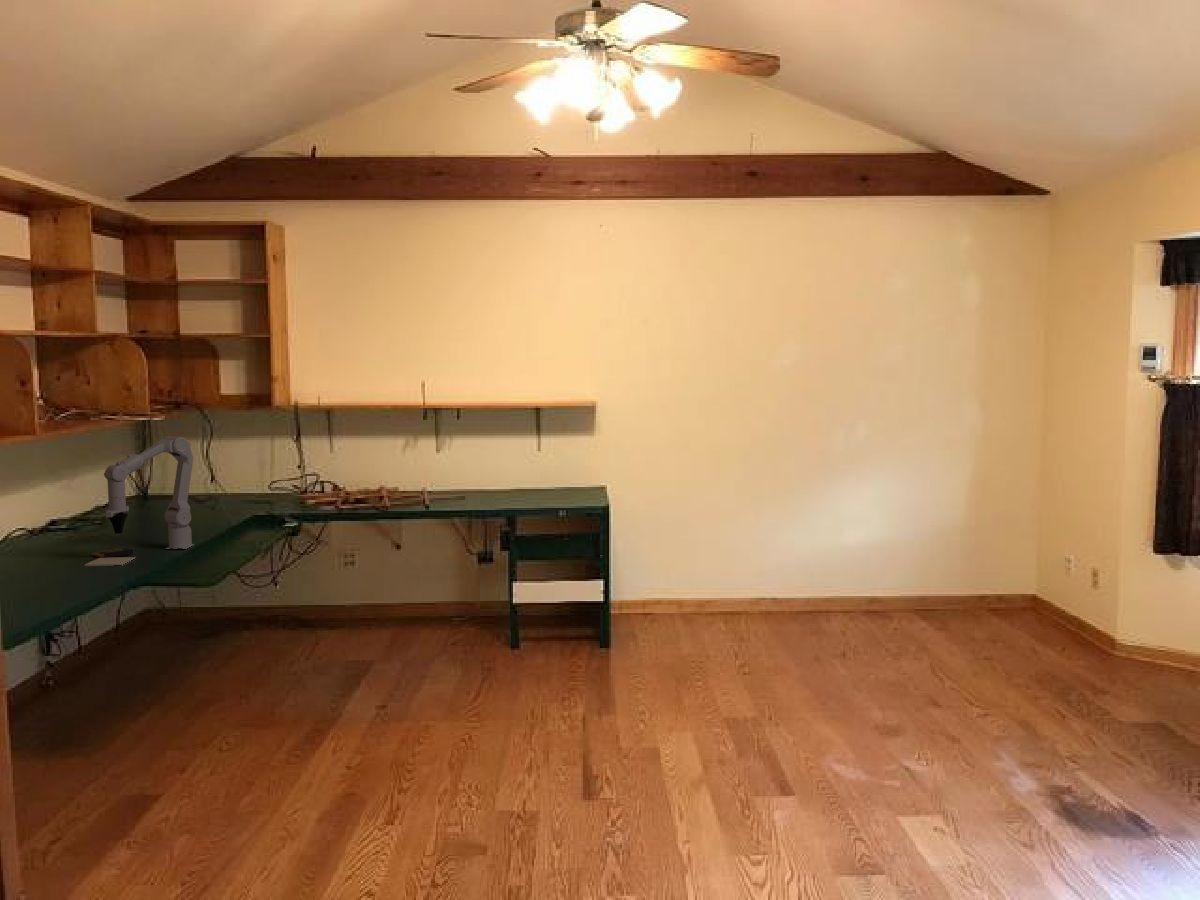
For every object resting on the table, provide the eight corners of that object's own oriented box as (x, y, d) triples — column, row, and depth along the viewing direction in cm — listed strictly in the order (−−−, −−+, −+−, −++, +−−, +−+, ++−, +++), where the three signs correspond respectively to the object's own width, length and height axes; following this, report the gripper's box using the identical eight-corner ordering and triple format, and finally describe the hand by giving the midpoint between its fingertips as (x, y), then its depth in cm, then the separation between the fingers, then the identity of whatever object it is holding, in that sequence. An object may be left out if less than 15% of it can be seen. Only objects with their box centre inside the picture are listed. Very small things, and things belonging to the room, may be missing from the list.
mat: (100, 559, 356) (100, 557, 356) (135, 558, 357) (135, 557, 357) (84, 566, 344) (84, 564, 344) (121, 565, 345) (121, 564, 345)
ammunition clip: (104, 553, 355) (89, 551, 363) (104, 558, 355) (89, 556, 363) (133, 549, 364) (117, 547, 371) (133, 553, 364) (118, 552, 371)
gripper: (114, 494, 363) (116, 529, 364) (96, 500, 348) (98, 536, 350) (133, 494, 363) (135, 529, 364) (116, 500, 349) (118, 536, 350)
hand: (118, 533), depth 357 cm, fingers closed
